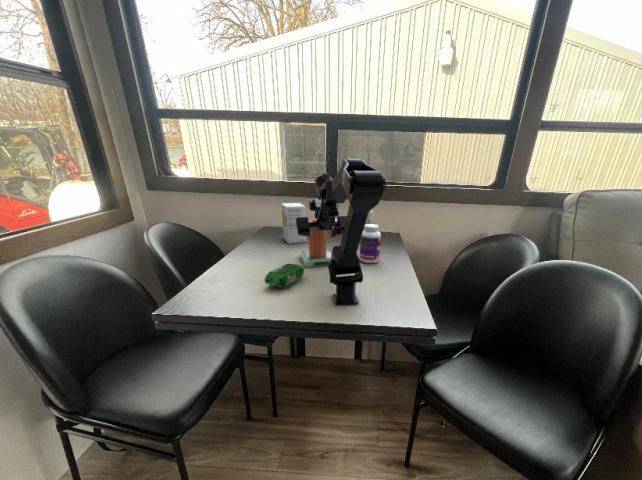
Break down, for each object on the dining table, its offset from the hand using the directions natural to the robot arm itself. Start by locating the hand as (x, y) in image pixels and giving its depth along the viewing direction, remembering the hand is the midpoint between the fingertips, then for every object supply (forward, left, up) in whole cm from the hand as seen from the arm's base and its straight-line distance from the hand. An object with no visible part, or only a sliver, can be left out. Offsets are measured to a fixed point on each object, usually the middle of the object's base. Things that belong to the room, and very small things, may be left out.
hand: (319, 237), depth 110 cm
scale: (+4, +1, -11) cm, 11 cm away
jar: (+4, +1, -8) cm, 9 cm away
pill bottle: (+3, -20, -11) cm, 23 cm away
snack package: (-17, +13, -11) cm, 24 cm away
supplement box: (+34, +10, -11) cm, 37 cm away
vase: (+43, -27, -11) cm, 52 cm away
